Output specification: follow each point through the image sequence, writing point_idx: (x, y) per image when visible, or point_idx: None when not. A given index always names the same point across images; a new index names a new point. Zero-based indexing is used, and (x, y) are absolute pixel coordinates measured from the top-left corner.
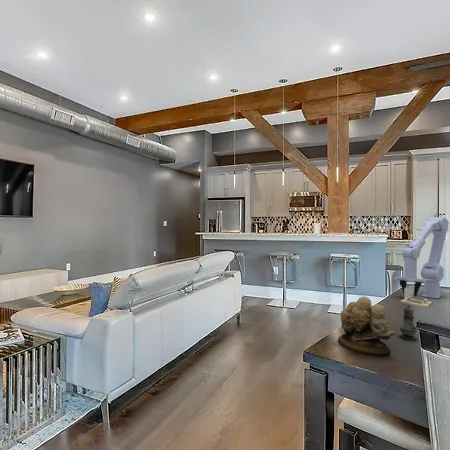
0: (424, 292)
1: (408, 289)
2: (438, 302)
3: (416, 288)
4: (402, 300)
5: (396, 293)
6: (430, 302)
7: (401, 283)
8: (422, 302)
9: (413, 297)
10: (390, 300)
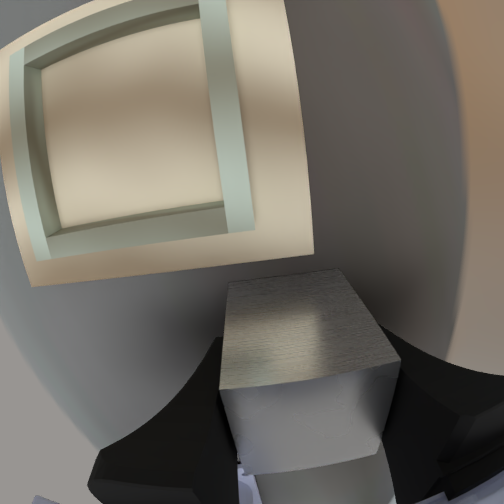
0: (241, 497)
1: (322, 361)
2: (65, 370)
3: (175, 413)
4: (273, 14)
5: None
6: (17, 221)
7: (492, 389)
8: (24, 51)
9: (186, 211)
10: (416, 57)
